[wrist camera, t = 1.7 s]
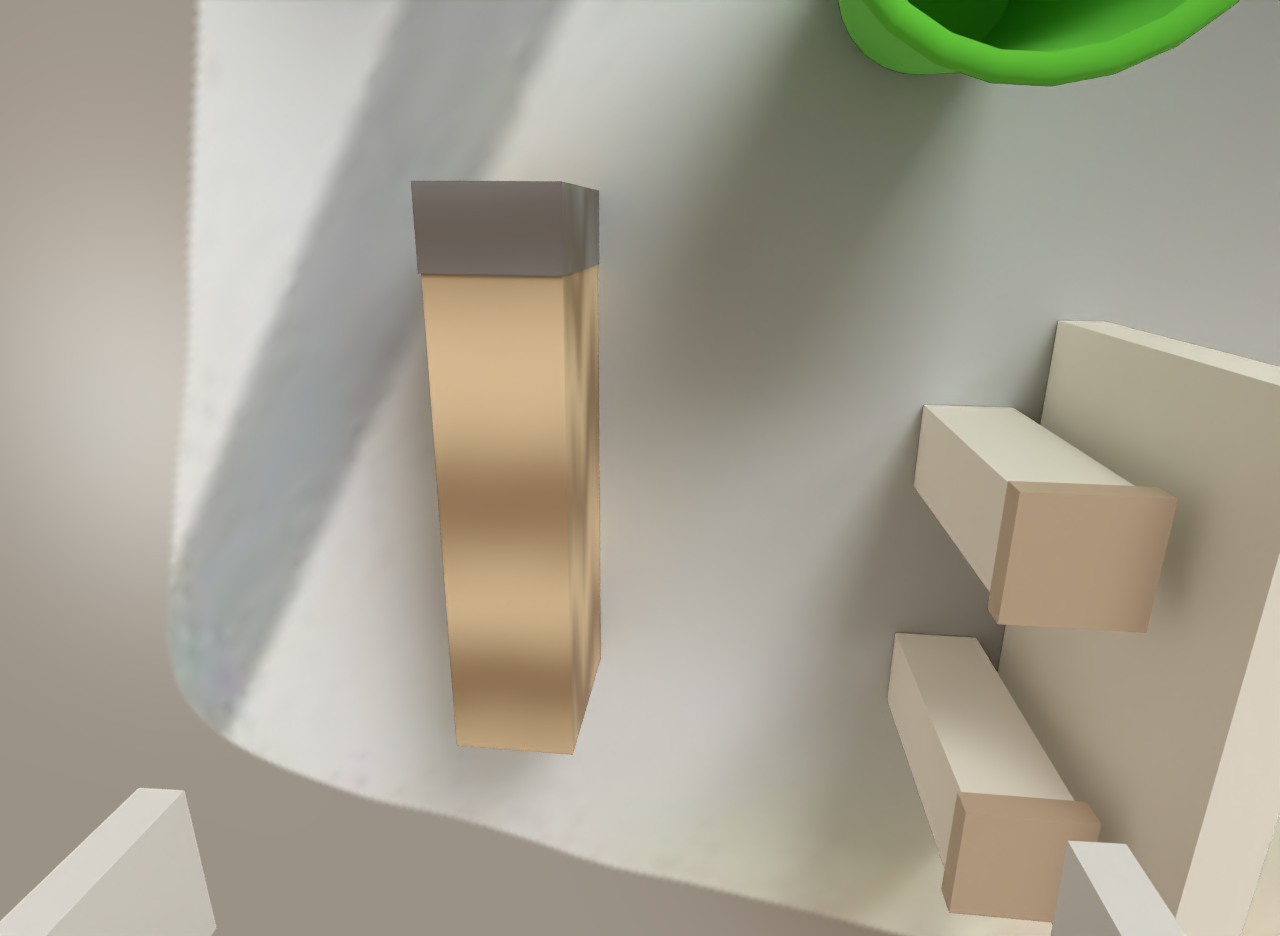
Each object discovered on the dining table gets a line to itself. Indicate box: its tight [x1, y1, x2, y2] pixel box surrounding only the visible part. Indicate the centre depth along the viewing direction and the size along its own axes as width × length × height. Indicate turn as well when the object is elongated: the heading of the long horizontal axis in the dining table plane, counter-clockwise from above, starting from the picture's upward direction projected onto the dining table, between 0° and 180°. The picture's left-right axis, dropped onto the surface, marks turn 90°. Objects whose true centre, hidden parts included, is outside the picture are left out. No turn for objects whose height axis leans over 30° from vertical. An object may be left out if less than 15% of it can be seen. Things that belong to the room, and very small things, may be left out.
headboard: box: [887, 321, 1280, 936], centre depth 23 cm, size 18×6×12 cm, turn 179°
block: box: [411, 181, 601, 755], centre depth 26 cm, size 18×4×6 cm, turn 179°
